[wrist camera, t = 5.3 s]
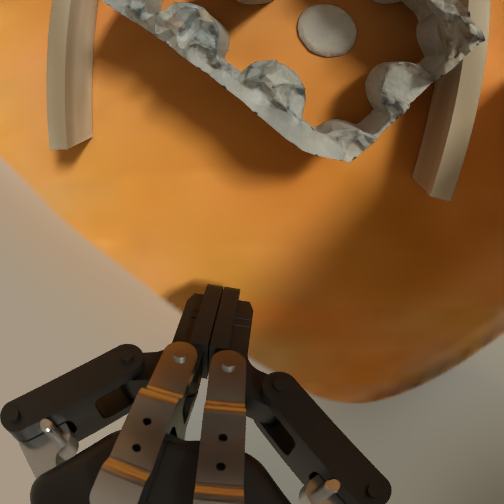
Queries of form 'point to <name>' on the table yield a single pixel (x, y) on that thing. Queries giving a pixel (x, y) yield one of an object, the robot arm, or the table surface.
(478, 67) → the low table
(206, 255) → the table surface
